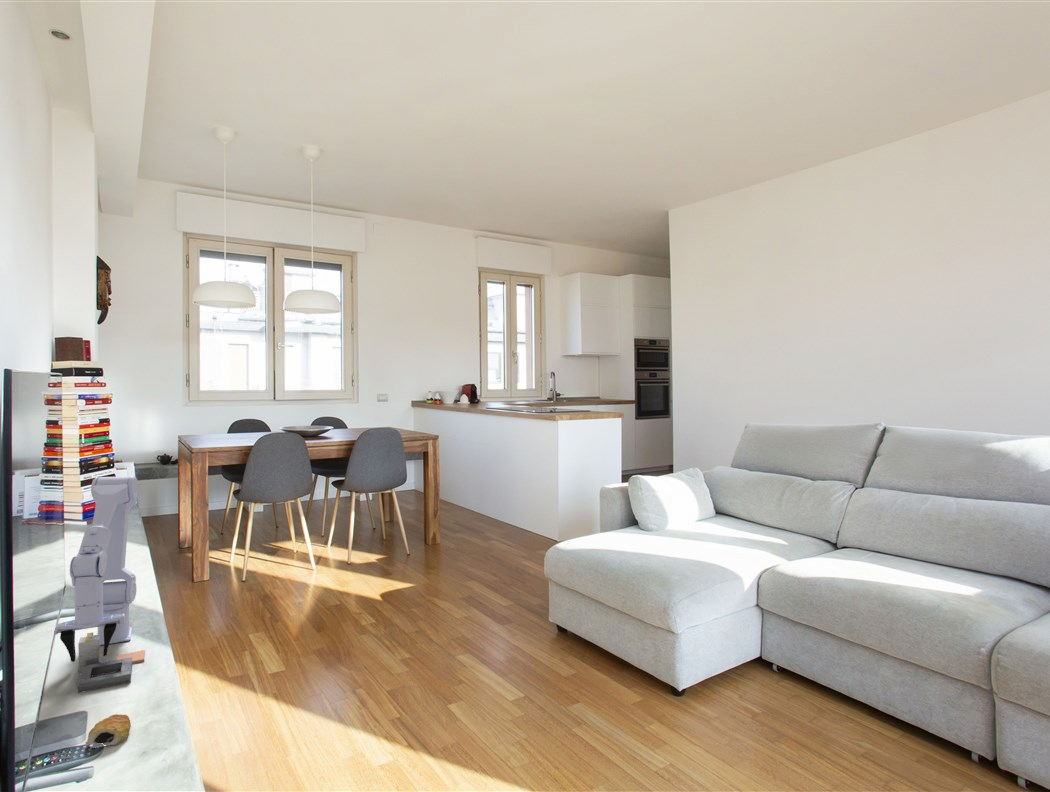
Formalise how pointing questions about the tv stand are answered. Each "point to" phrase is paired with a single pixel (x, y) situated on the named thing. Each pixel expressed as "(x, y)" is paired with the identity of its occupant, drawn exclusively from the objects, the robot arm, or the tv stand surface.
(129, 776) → the tv stand surface
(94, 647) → the steel key
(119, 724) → the pastry
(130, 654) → the terracotta pad
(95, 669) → the charcoal socket
